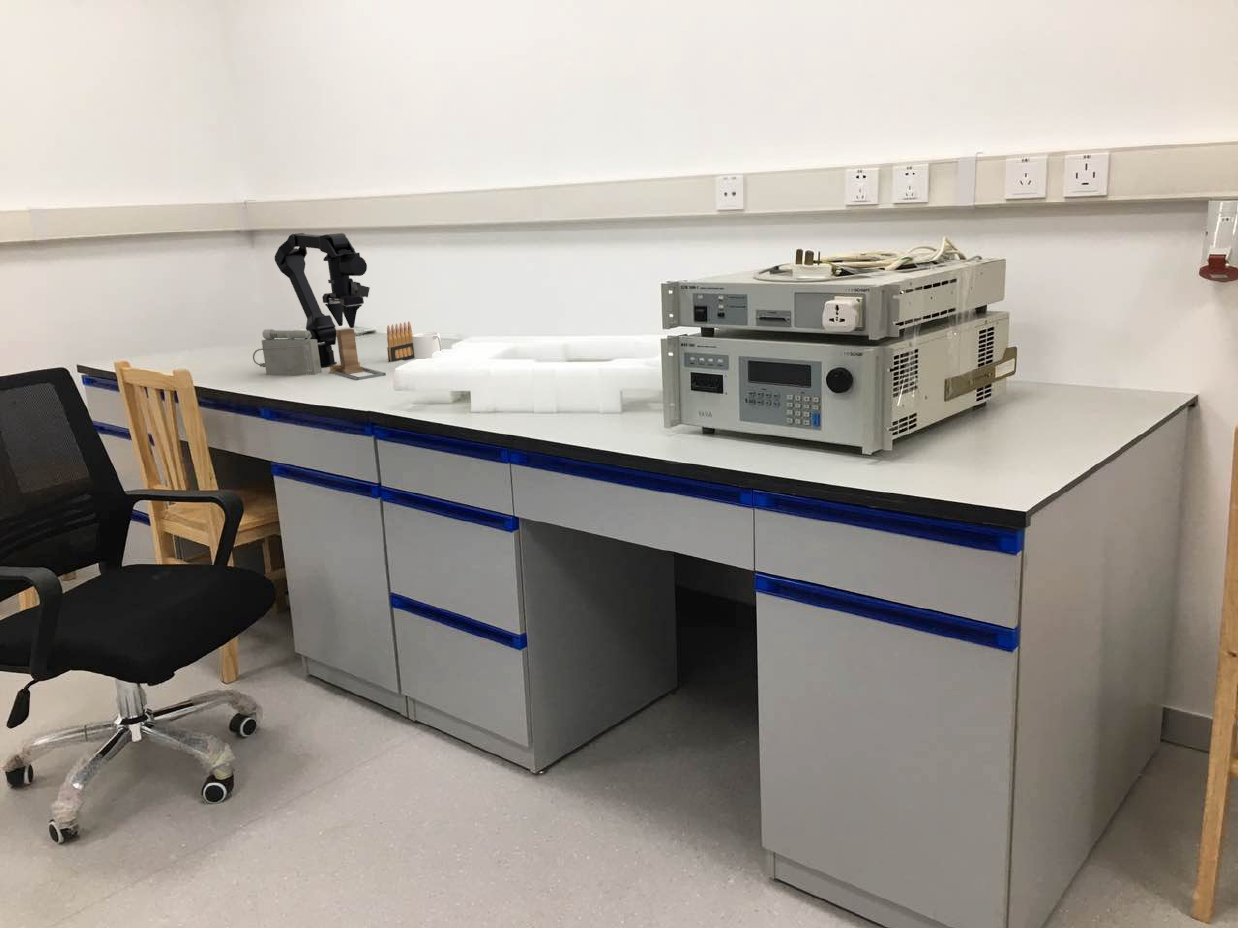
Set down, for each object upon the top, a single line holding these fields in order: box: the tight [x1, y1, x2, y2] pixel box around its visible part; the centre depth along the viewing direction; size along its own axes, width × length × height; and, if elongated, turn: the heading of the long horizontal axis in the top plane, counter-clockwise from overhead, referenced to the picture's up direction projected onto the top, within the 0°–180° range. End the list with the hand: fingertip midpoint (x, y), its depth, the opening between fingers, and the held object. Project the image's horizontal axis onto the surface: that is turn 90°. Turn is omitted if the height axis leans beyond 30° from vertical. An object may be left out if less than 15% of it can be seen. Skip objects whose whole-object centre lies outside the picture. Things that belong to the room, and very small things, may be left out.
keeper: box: [336, 327, 364, 375], centre depth 303 cm, size 6×6×13 cm
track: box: [329, 361, 387, 381], centre depth 300 cm, size 21×9×2 cm, turn 36°
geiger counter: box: [252, 328, 323, 377], centre depth 309 cm, size 14×6×25 cm
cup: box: [412, 332, 443, 360], centre depth 305 cm, size 8×12×10 cm
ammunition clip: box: [386, 321, 415, 363], centre depth 322 cm, size 11×2×12 cm, turn 145°
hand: (346, 326), depth 311 cm, fingers open, 9 cm apart
